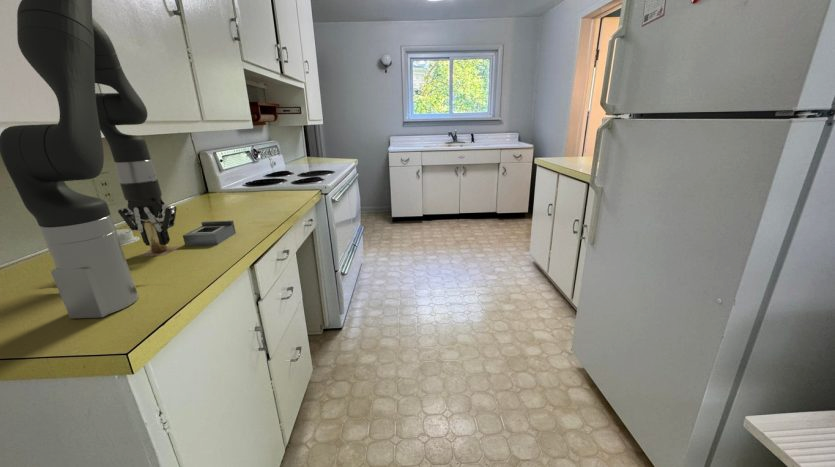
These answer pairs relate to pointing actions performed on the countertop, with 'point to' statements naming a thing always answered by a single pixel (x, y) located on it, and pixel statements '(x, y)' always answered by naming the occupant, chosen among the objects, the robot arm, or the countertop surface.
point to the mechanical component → (126, 237)
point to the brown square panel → (162, 253)
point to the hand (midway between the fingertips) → (157, 244)
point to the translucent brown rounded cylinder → (153, 237)
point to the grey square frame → (210, 233)
